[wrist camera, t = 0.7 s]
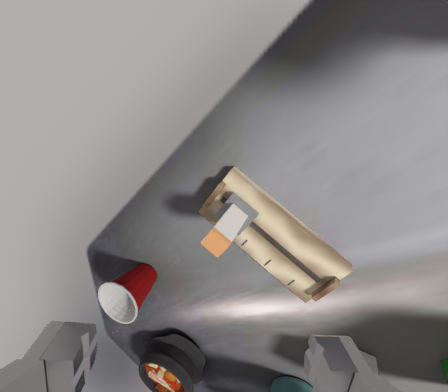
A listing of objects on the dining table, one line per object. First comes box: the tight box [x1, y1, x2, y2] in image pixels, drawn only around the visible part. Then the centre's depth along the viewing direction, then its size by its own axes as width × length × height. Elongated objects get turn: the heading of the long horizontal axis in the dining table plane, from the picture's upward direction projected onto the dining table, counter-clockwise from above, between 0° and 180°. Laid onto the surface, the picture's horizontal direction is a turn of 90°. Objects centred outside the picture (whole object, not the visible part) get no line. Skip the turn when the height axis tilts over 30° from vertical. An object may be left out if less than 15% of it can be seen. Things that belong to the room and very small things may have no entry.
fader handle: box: [201, 193, 259, 258], centre depth 47 cm, size 6×6×11 cm
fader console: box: [198, 166, 353, 303], centre depth 52 cm, size 12×28×4 cm, turn 54°
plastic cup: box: [98, 264, 157, 324], centre depth 66 cm, size 11×11×12 cm
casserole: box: [139, 334, 206, 392], centre depth 77 cm, size 25×19×8 cm
